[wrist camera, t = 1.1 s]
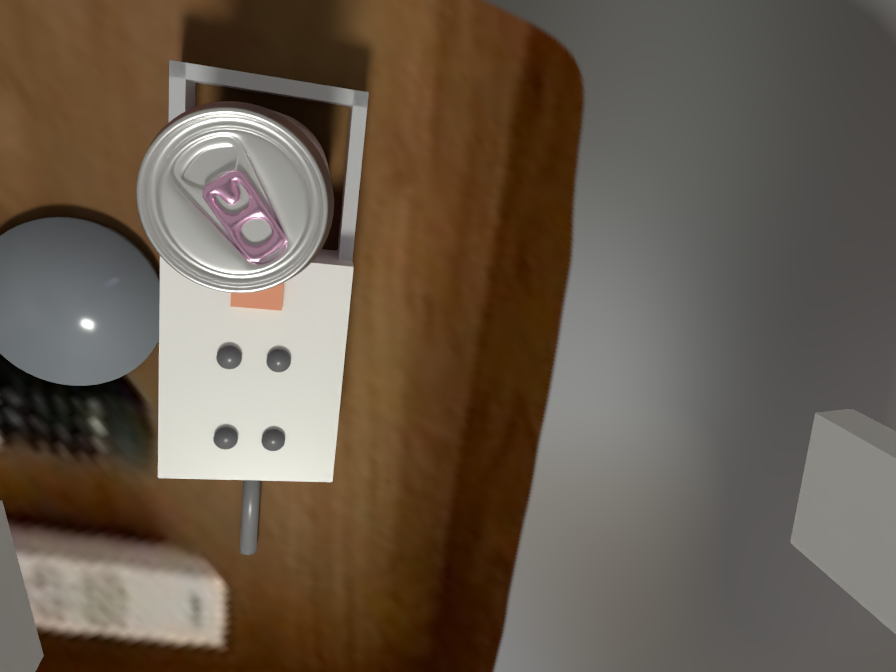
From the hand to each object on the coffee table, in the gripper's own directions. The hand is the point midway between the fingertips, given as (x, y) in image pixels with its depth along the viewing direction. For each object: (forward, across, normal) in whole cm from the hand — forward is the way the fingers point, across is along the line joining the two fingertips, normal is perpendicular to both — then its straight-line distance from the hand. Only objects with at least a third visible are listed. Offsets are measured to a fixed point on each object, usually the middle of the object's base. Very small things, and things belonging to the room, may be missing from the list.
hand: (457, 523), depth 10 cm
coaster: (+27, -15, -2) cm, 31 cm away
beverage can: (+27, -4, +4) cm, 27 cm away
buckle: (+27, -6, -5) cm, 28 cm away
